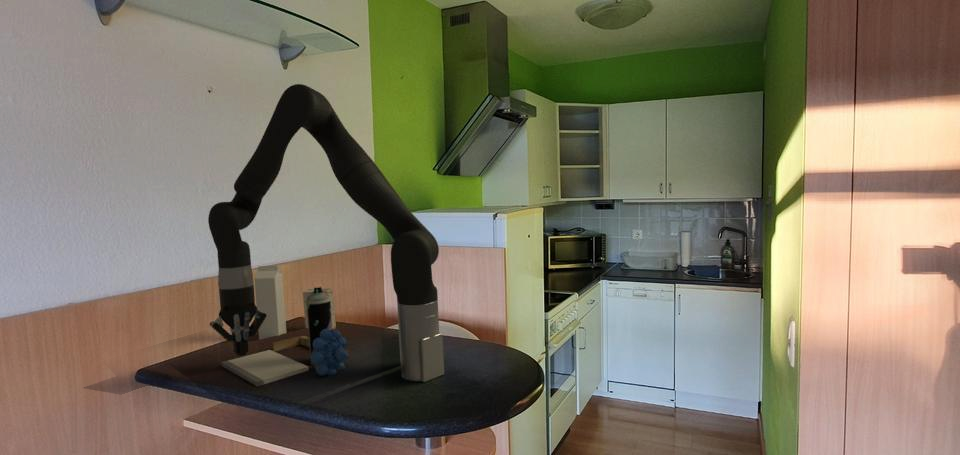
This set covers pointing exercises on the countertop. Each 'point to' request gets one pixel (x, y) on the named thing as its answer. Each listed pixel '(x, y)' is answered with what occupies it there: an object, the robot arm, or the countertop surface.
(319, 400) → the countertop surface
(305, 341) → the wooden u-shaped bracket
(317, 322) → the spray can
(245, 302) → the robot arm
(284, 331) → the milk
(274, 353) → the cream thin rectangular board
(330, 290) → the supplement box
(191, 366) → the countertop surface
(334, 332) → the grapes
